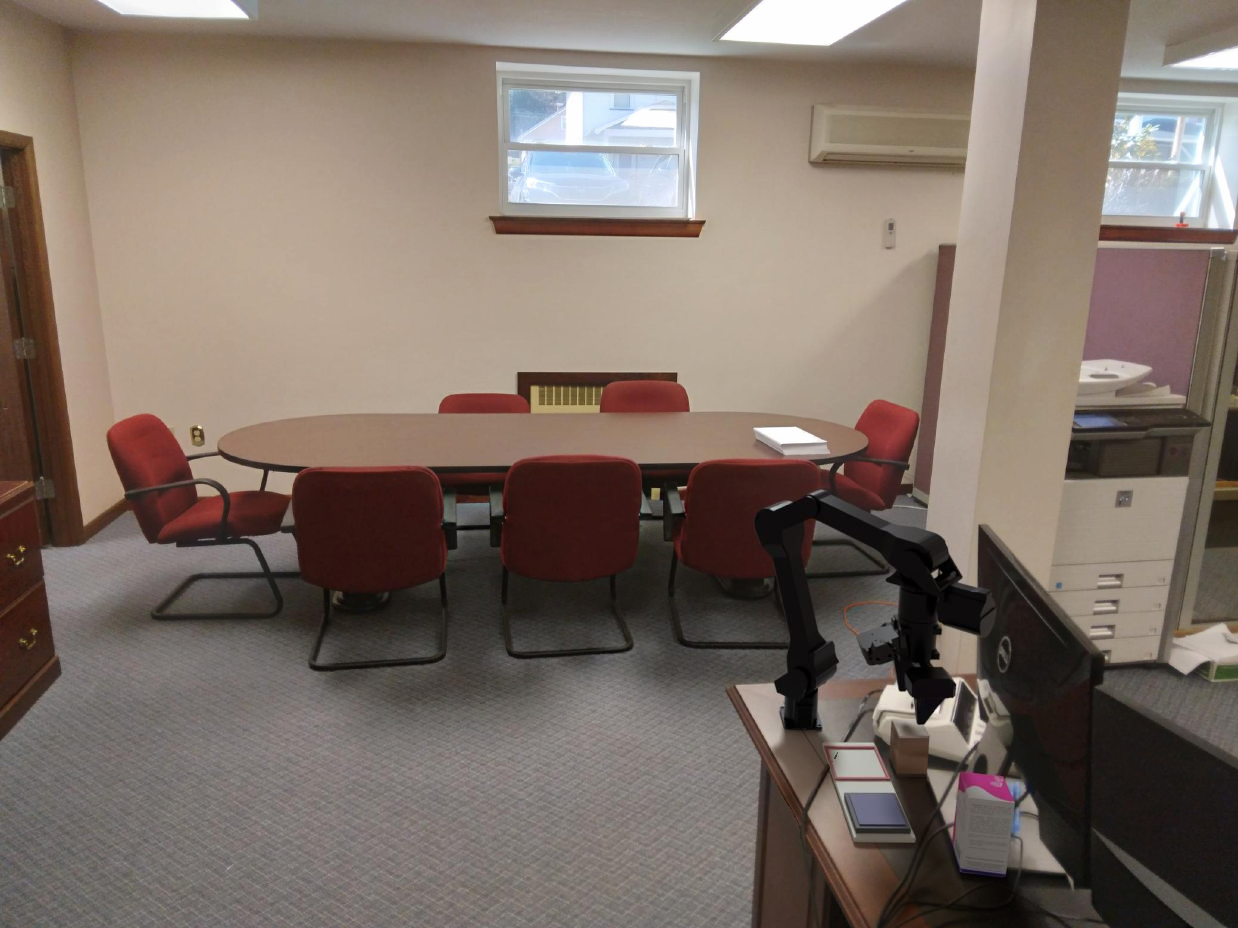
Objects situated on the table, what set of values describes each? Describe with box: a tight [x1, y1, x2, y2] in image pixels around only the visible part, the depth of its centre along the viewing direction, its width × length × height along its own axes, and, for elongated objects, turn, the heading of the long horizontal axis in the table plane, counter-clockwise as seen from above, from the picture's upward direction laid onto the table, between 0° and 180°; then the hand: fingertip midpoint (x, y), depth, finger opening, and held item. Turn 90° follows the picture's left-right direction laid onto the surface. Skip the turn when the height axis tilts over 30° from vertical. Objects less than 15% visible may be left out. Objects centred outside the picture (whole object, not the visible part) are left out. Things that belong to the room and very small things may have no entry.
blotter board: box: [821, 742, 917, 844], centre depth 119 cm, size 22×8×2 cm, turn 177°
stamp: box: [888, 718, 931, 778], centre depth 124 cm, size 4×4×7 cm
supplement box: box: [951, 771, 1016, 878], centre depth 104 cm, size 6×6×12 cm
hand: (910, 707), depth 122 cm, fingers open, 9 cm apart
